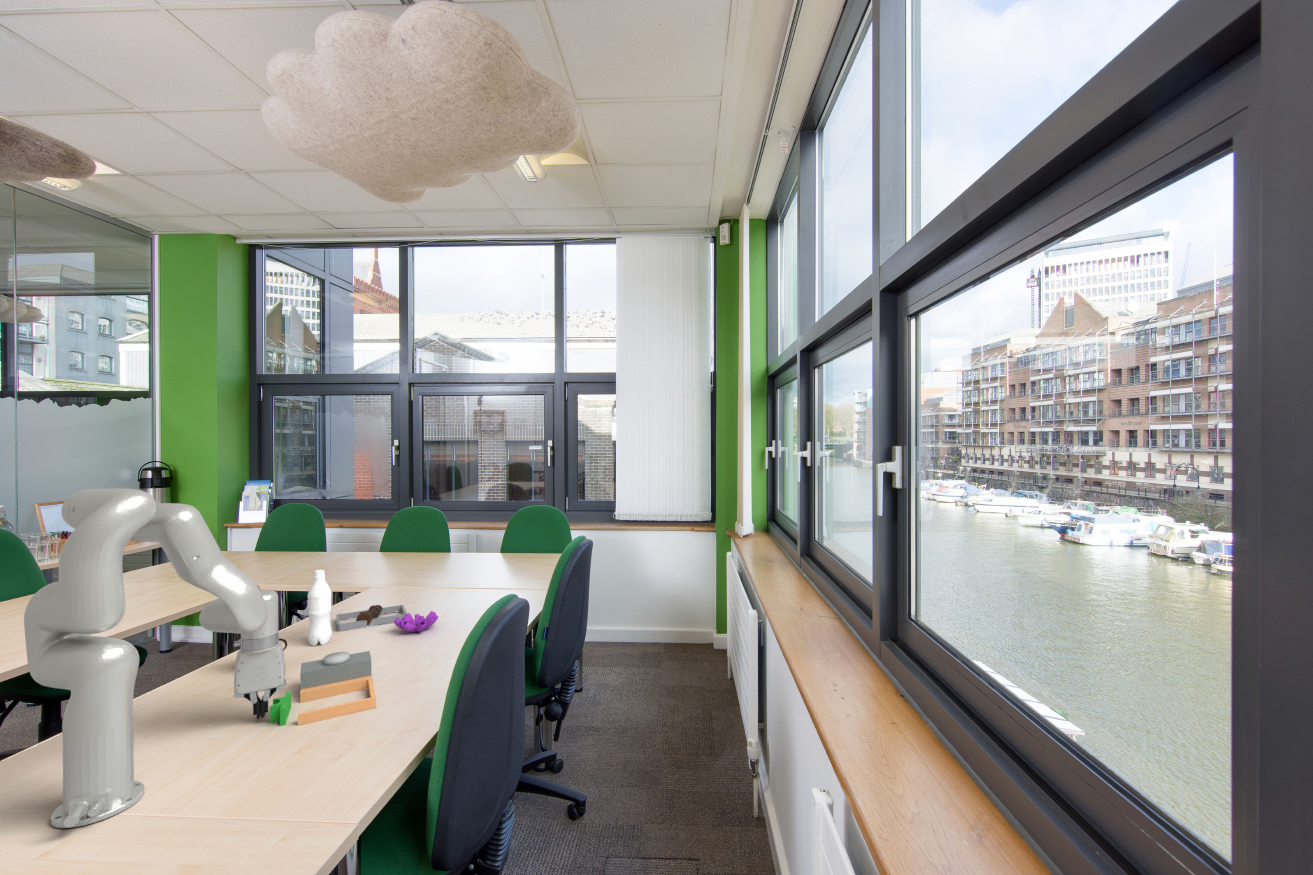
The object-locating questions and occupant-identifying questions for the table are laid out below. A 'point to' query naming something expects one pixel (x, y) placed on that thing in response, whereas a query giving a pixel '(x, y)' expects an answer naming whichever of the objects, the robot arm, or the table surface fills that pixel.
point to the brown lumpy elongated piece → (370, 614)
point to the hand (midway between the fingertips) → (260, 716)
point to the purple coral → (416, 622)
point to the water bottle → (319, 610)
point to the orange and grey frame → (336, 684)
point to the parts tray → (364, 622)
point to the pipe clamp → (280, 709)
